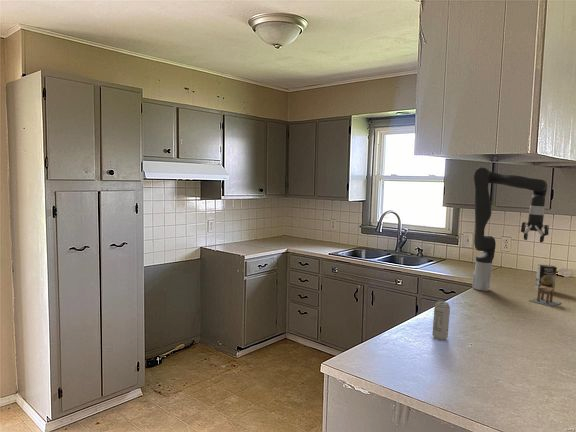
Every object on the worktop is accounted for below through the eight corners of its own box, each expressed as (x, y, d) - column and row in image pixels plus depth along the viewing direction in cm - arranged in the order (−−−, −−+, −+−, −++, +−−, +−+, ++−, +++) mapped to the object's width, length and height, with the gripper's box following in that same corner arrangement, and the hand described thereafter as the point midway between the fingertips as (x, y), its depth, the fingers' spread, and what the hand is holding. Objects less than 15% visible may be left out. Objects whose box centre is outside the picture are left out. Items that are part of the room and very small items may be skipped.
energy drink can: (450, 340, 173) (453, 305, 171) (437, 341, 171) (440, 305, 170) (442, 335, 178) (445, 300, 177) (429, 335, 177) (432, 301, 176)
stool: (536, 300, 237) (537, 287, 236) (541, 299, 241) (542, 285, 240) (548, 303, 232) (549, 289, 231) (552, 302, 236) (554, 288, 235)
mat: (528, 301, 238) (528, 300, 238) (538, 298, 245) (538, 297, 245) (551, 306, 228) (551, 306, 228) (561, 303, 235) (561, 303, 235)
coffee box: (538, 291, 260) (540, 265, 259) (534, 288, 266) (537, 263, 265) (554, 293, 258) (557, 267, 257) (550, 290, 264) (553, 265, 263)
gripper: (520, 212, 248) (517, 239, 250) (546, 215, 236) (543, 243, 238) (526, 212, 252) (523, 238, 254) (552, 214, 241) (549, 242, 243)
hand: (533, 241), depth 246 cm, fingers open, 8 cm apart
